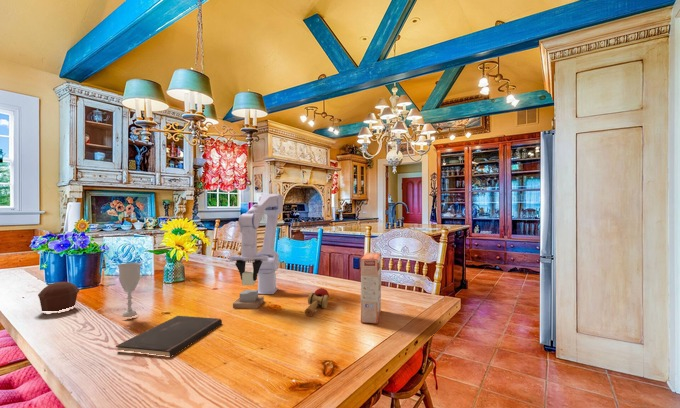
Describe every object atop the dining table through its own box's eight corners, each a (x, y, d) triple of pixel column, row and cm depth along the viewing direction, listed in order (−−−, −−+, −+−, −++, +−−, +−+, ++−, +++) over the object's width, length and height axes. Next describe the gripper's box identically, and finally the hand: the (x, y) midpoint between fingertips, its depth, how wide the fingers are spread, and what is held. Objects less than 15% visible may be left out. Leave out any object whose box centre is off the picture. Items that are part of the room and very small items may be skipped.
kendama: (322, 321, 106) (334, 299, 124) (318, 303, 106) (331, 283, 123) (300, 323, 108) (316, 301, 125) (296, 306, 107) (312, 286, 125)
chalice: (112, 319, 105) (112, 265, 105) (133, 313, 111) (134, 262, 111) (124, 322, 101) (125, 267, 101) (146, 316, 107) (146, 263, 108)
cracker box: (378, 324, 99) (378, 258, 100) (360, 323, 101) (359, 258, 101) (382, 310, 113) (381, 252, 113) (365, 309, 114) (365, 252, 115)
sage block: (245, 282, 122) (245, 271, 122) (255, 282, 122) (255, 271, 122) (242, 285, 118) (242, 273, 118) (252, 285, 118) (252, 273, 118)
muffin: (71, 313, 110) (71, 285, 110) (30, 317, 106) (30, 288, 106) (84, 304, 121) (84, 278, 121) (47, 307, 117) (48, 280, 117)
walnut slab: (241, 302, 125) (241, 296, 125) (263, 302, 124) (263, 296, 124) (232, 310, 116) (232, 303, 116) (257, 310, 115) (257, 303, 115)
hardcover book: (115, 354, 81) (115, 345, 81) (177, 322, 103) (177, 315, 103) (170, 360, 78) (170, 351, 78) (222, 325, 100) (222, 318, 100)
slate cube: (244, 297, 123) (244, 289, 123) (258, 297, 123) (258, 289, 123) (239, 301, 118) (239, 293, 118) (254, 301, 118) (254, 293, 118)
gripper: (226, 245, 116) (226, 282, 116) (265, 245, 116) (265, 282, 116) (233, 243, 124) (233, 278, 123) (269, 243, 123) (269, 278, 123)
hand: (249, 280), depth 120 cm, fingers closed on sage block, 4 cm apart
